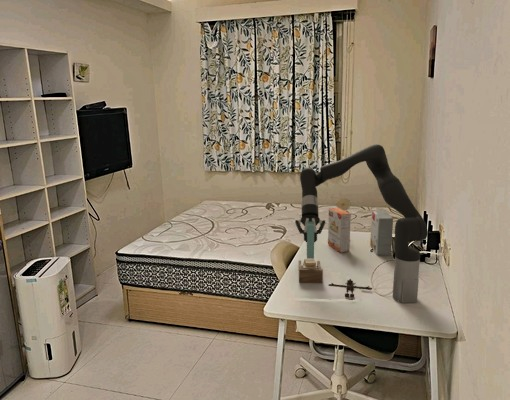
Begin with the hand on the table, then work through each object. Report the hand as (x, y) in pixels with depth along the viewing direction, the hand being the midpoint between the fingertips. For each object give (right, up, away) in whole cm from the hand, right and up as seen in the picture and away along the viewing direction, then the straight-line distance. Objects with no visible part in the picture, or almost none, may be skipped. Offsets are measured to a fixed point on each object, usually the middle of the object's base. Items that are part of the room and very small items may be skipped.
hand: (310, 241), depth 185 cm
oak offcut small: (+1, -12, +13) cm, 18 cm away
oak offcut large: (+1, -15, +14) cm, 20 cm away
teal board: (0, -7, +4) cm, 8 cm away
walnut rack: (+1, -17, +9) cm, 19 cm away
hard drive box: (+42, -9, +41) cm, 60 cm away
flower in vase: (+25, -5, +59) cm, 64 cm away
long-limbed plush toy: (+15, -21, -7) cm, 27 cm away
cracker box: (+21, -8, +45) cm, 51 cm away
